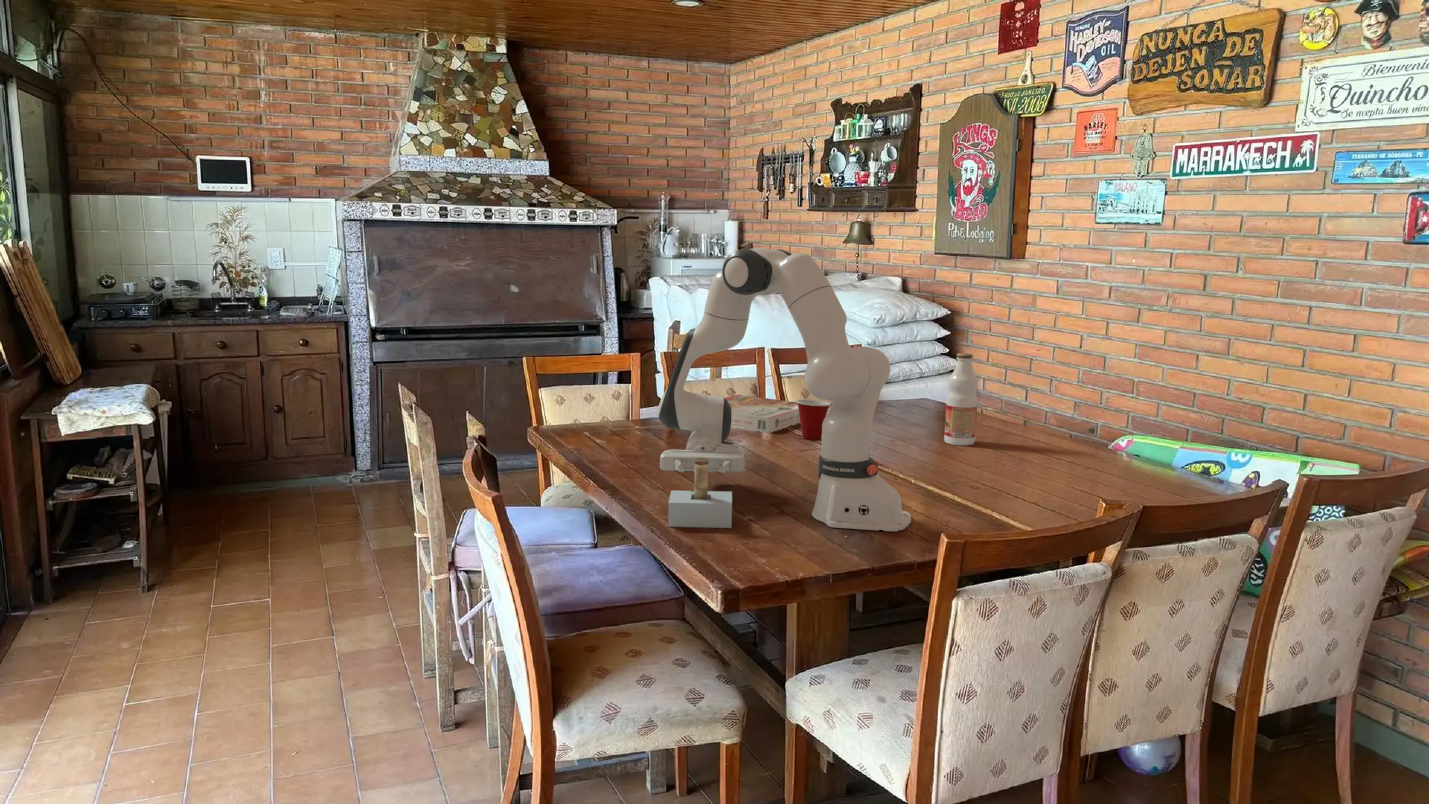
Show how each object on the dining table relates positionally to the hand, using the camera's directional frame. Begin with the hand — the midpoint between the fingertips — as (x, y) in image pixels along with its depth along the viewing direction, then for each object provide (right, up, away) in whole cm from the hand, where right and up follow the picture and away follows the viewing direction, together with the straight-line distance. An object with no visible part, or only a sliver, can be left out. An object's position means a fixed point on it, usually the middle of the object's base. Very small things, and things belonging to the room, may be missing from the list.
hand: (701, 469), depth 224 cm
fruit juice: (+80, +3, +78) cm, 112 cm away
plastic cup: (+34, +4, +82) cm, 89 cm away
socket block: (0, -11, -5) cm, 12 cm away
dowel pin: (0, -9, -6) cm, 11 cm away
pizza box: (+16, +9, +110) cm, 112 cm away
